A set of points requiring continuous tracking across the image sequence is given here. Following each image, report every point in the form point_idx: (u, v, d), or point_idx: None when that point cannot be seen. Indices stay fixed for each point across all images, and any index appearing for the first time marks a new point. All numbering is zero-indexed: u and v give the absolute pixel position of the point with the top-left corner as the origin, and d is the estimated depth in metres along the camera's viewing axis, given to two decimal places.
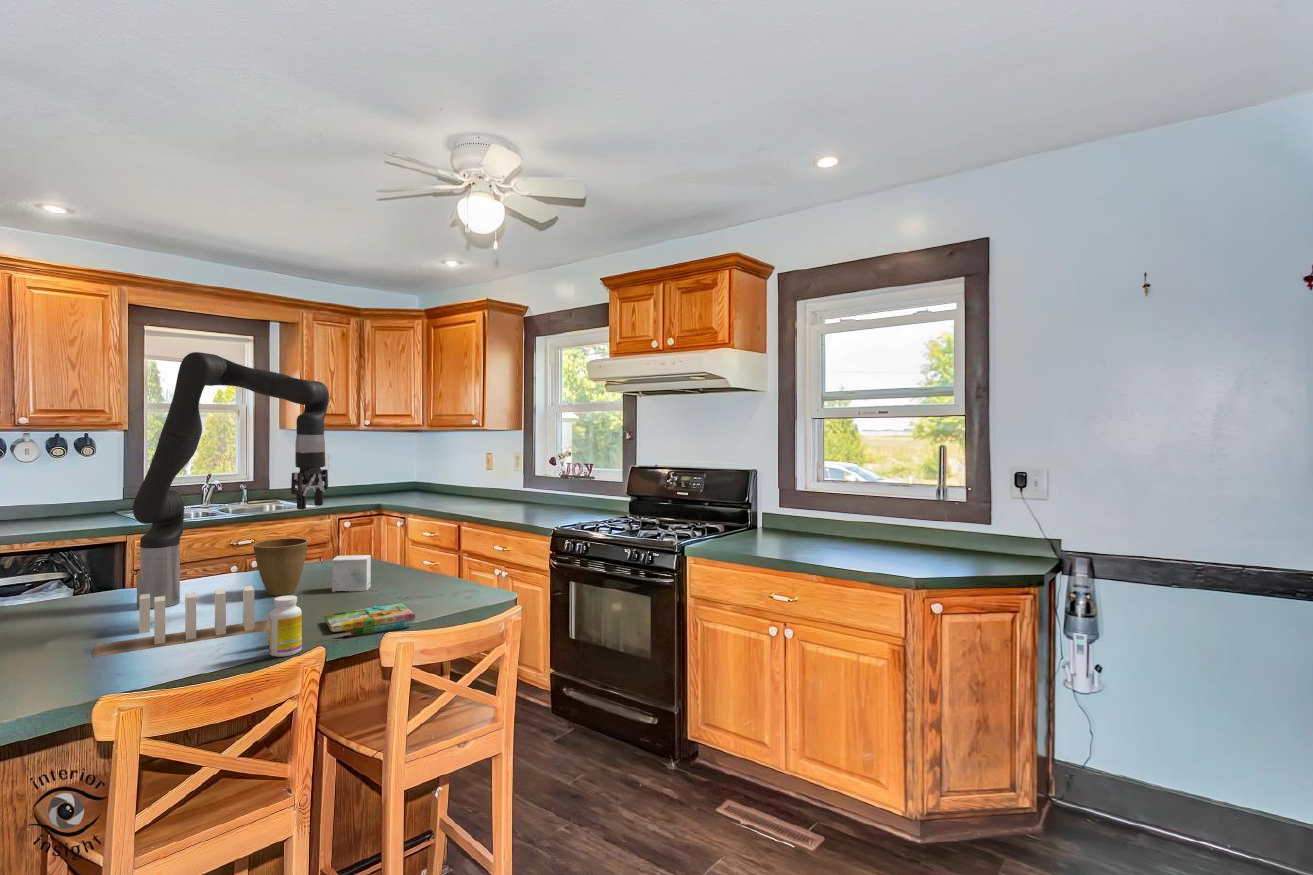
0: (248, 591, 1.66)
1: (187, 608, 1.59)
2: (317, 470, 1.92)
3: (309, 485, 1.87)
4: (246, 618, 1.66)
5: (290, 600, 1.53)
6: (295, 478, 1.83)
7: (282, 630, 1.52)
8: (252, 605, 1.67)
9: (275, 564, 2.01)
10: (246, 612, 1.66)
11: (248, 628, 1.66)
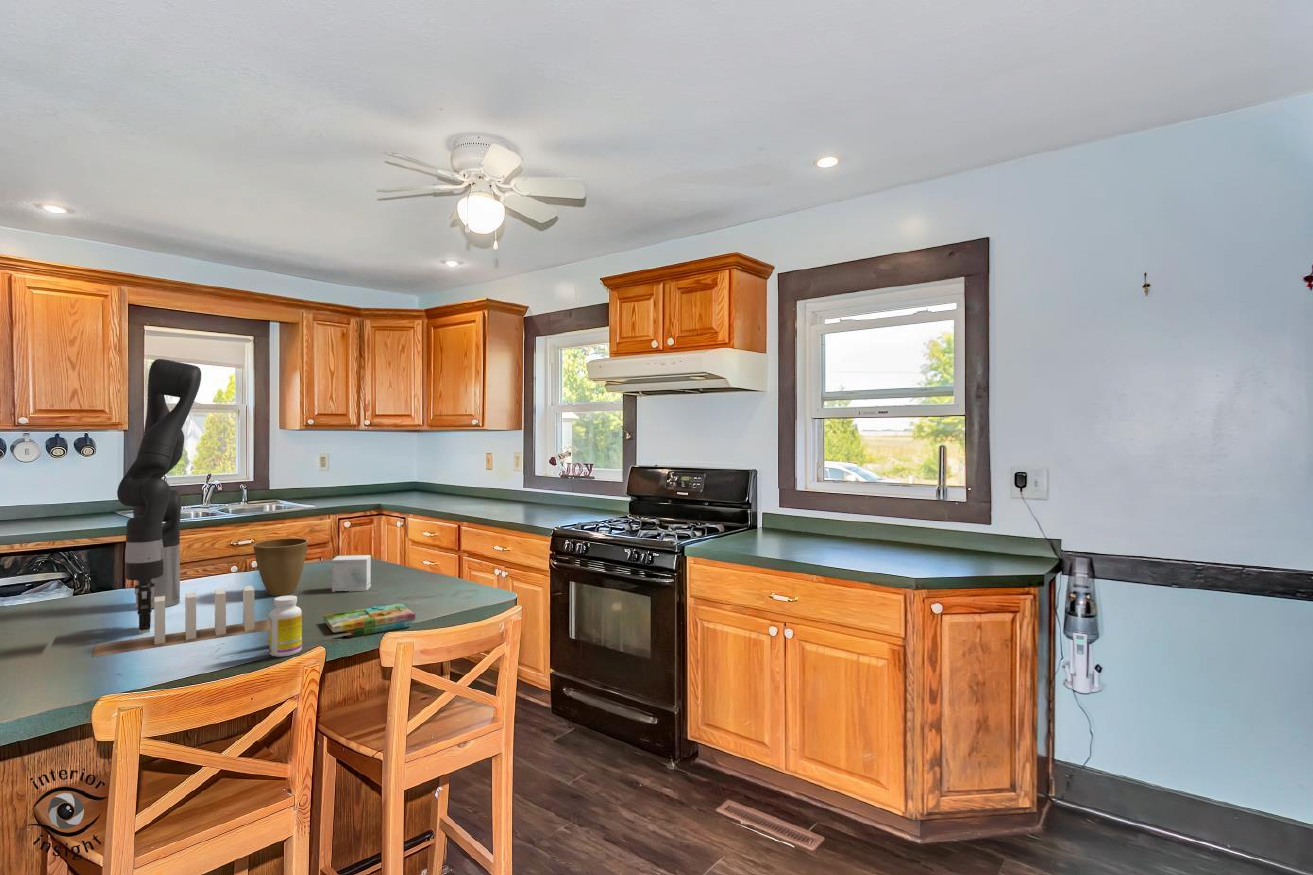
0: (248, 591, 1.66)
1: (187, 608, 1.59)
2: None
3: None
4: (246, 618, 1.66)
5: (290, 600, 1.53)
6: None
7: (282, 630, 1.52)
8: (252, 605, 1.67)
9: (275, 564, 2.01)
10: (246, 612, 1.66)
11: (248, 628, 1.66)
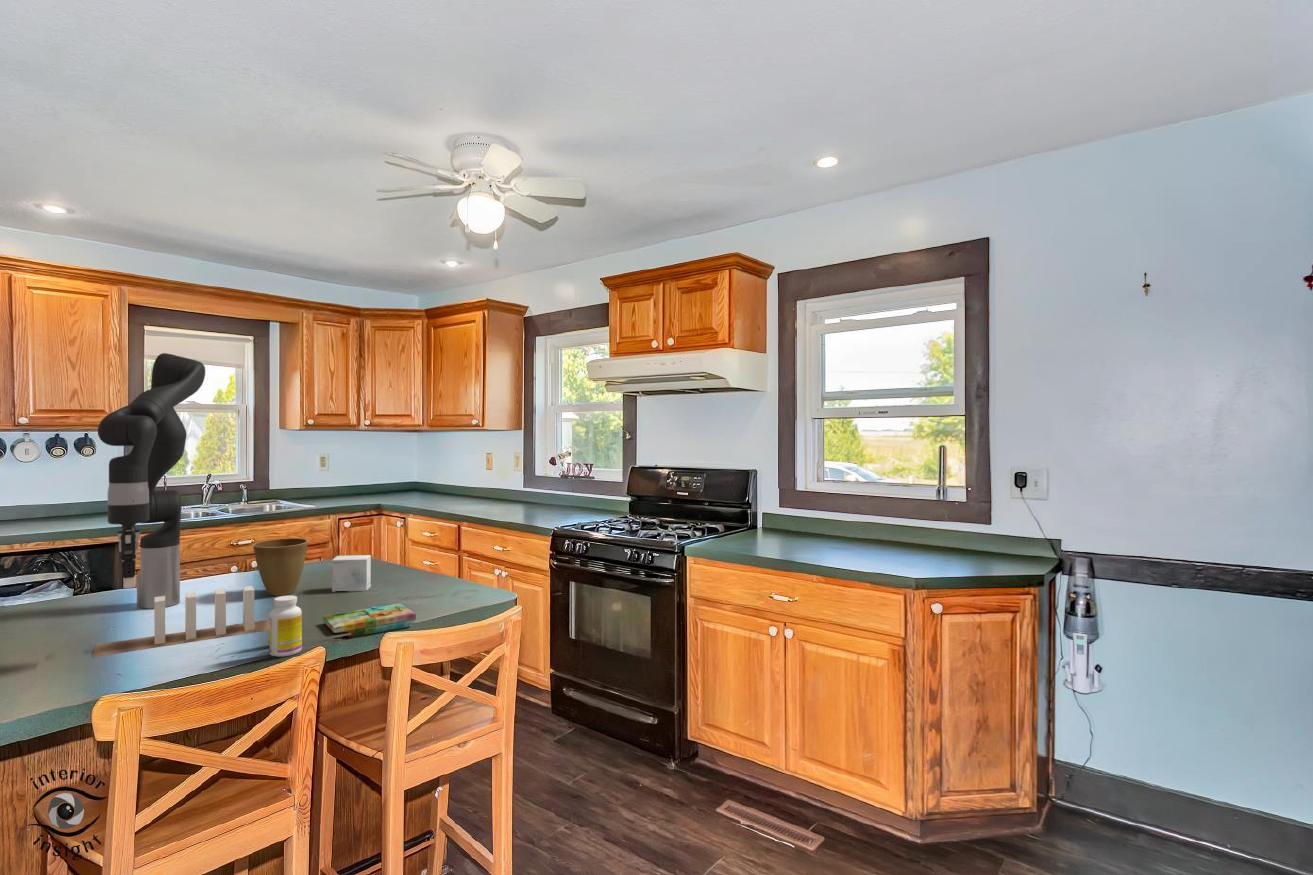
0: (248, 591, 1.66)
1: (187, 608, 1.59)
2: None
3: None
4: (246, 618, 1.66)
5: (290, 600, 1.53)
6: None
7: (282, 630, 1.52)
8: (252, 605, 1.67)
9: (275, 564, 2.01)
10: (246, 612, 1.66)
11: (248, 628, 1.66)
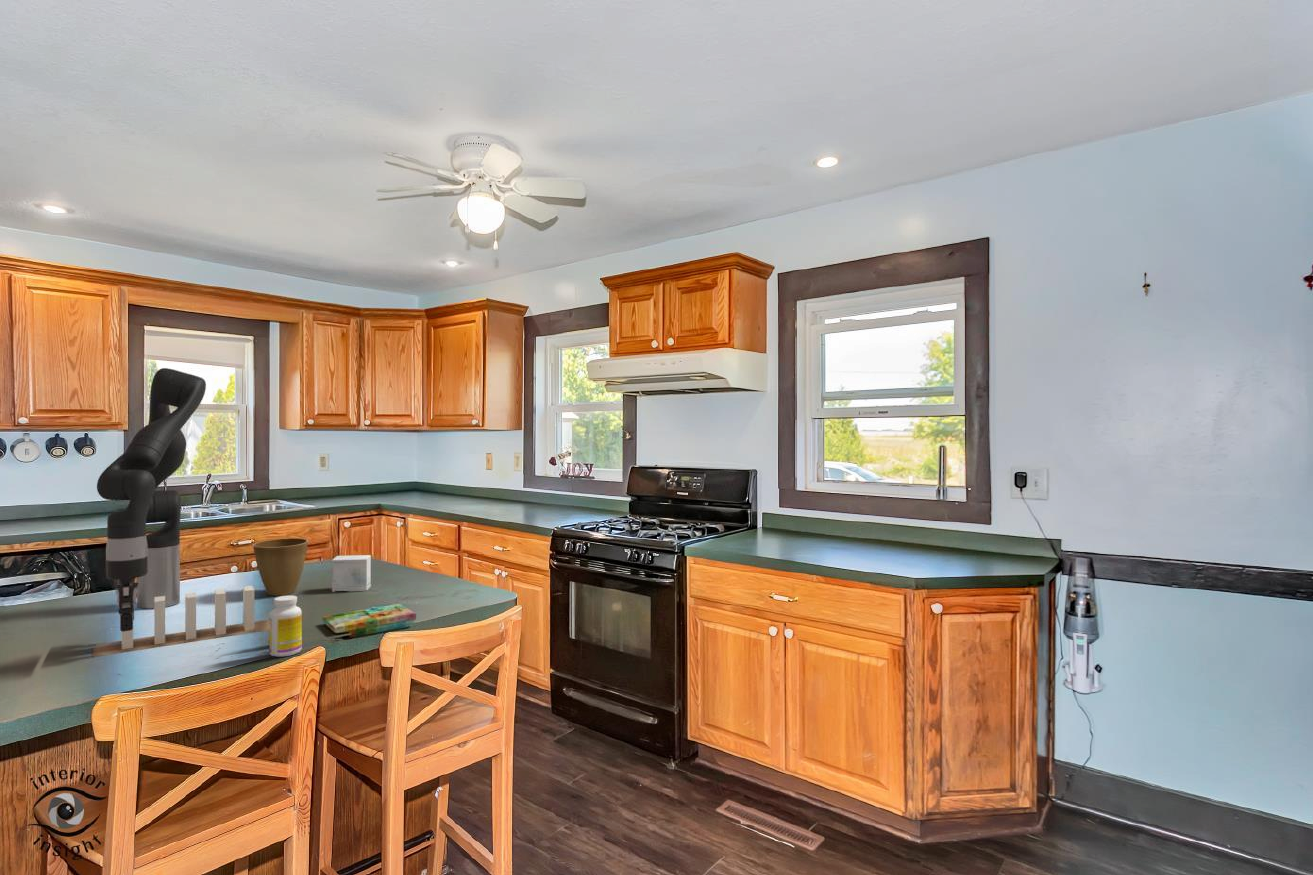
0: (248, 591, 1.66)
1: (187, 608, 1.59)
2: None
3: None
4: (246, 618, 1.66)
5: (290, 600, 1.53)
6: None
7: (282, 630, 1.52)
8: (252, 605, 1.67)
9: (275, 564, 2.01)
10: (246, 612, 1.66)
11: (248, 628, 1.66)
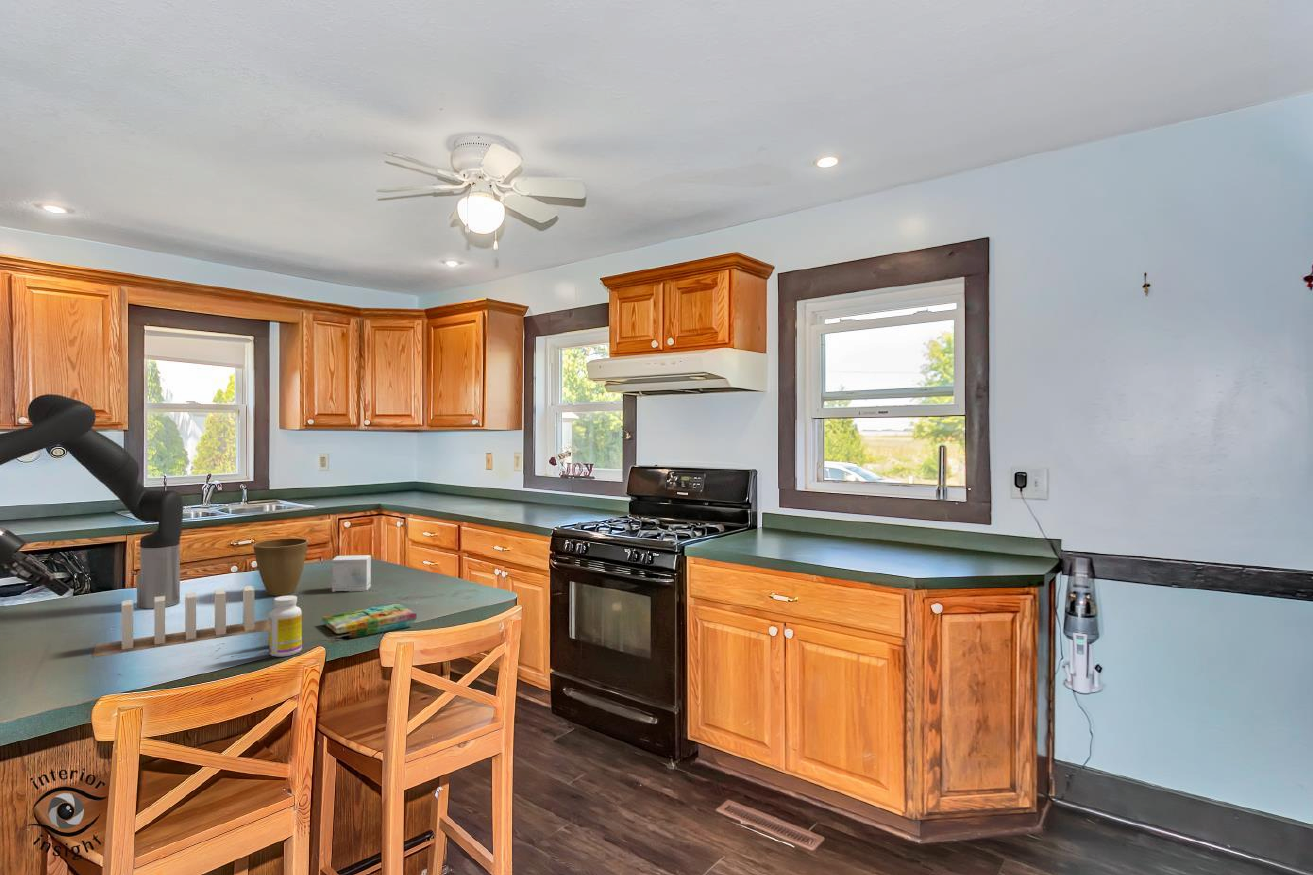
0: (248, 591, 1.66)
1: (187, 608, 1.59)
2: None
3: None
4: (246, 618, 1.66)
5: (290, 600, 1.53)
6: None
7: (282, 630, 1.52)
8: (252, 605, 1.67)
9: (275, 564, 2.01)
10: (246, 612, 1.66)
11: (248, 628, 1.66)
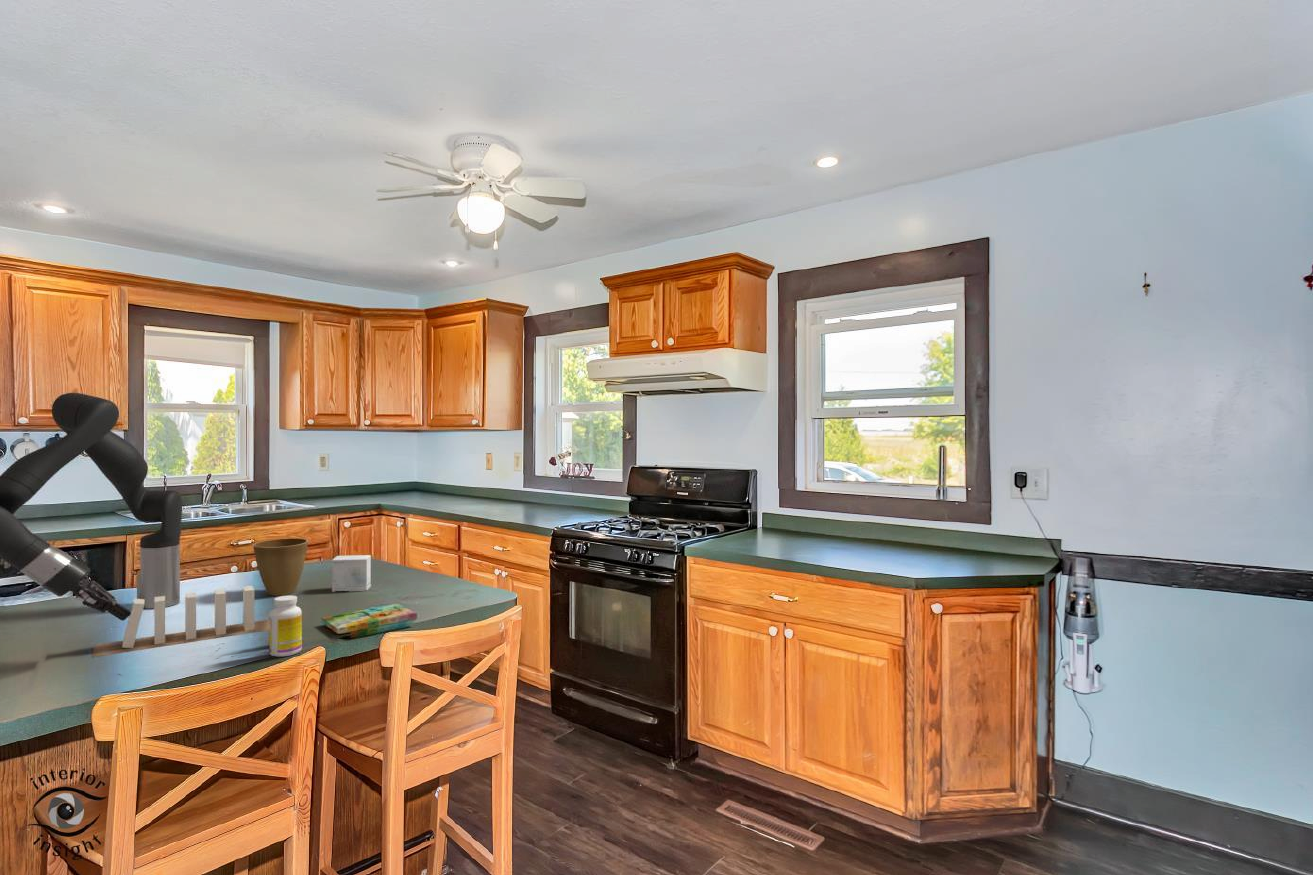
0: (248, 591, 1.66)
1: (187, 608, 1.59)
2: None
3: None
4: (246, 618, 1.66)
5: (290, 600, 1.53)
6: None
7: (282, 630, 1.52)
8: (252, 605, 1.67)
9: (275, 564, 2.01)
10: (246, 612, 1.66)
11: (248, 628, 1.66)
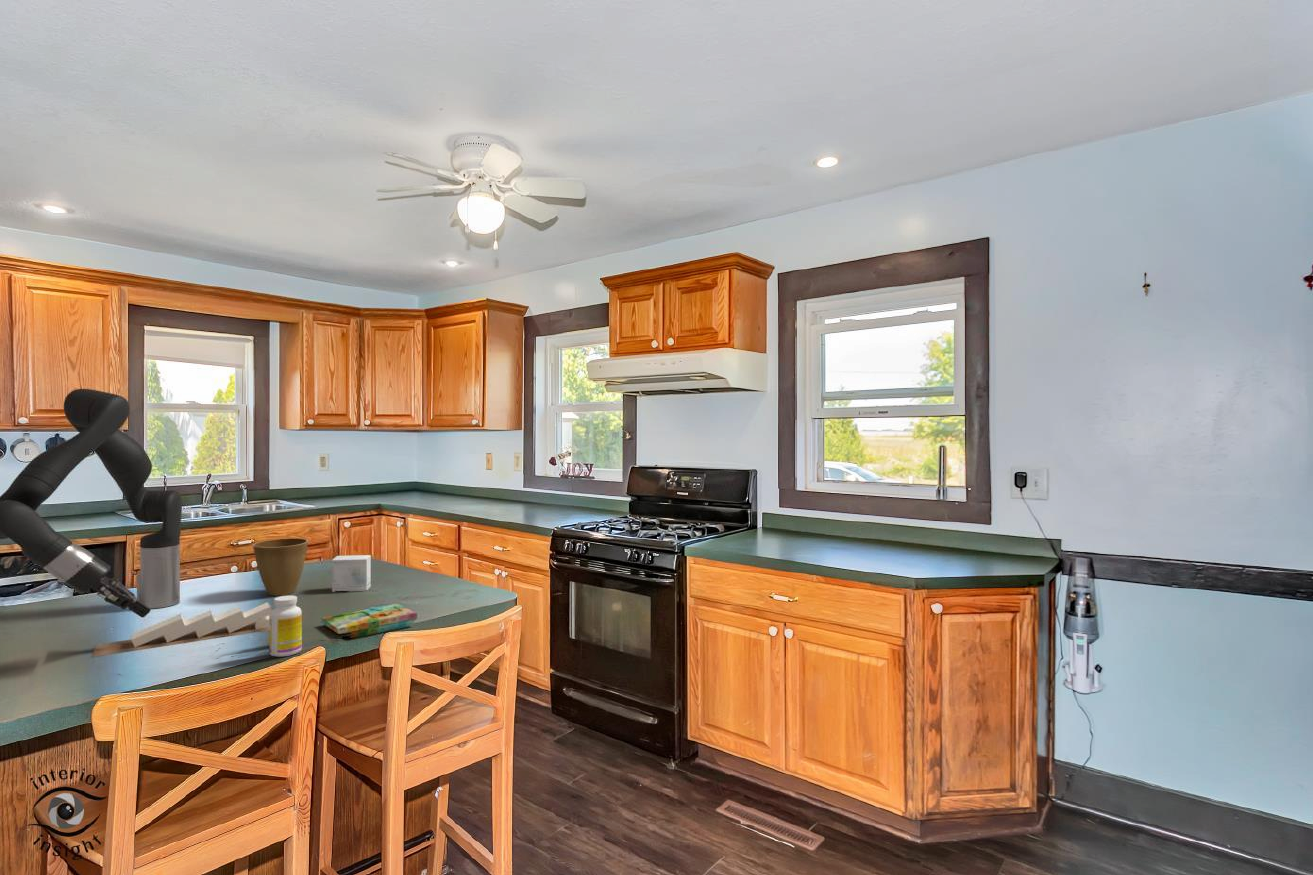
0: None
1: (230, 616, 1.64)
2: None
3: None
4: None
5: (290, 600, 1.53)
6: None
7: (282, 630, 1.52)
8: None
9: (275, 564, 2.01)
10: None
11: (257, 624, 1.67)
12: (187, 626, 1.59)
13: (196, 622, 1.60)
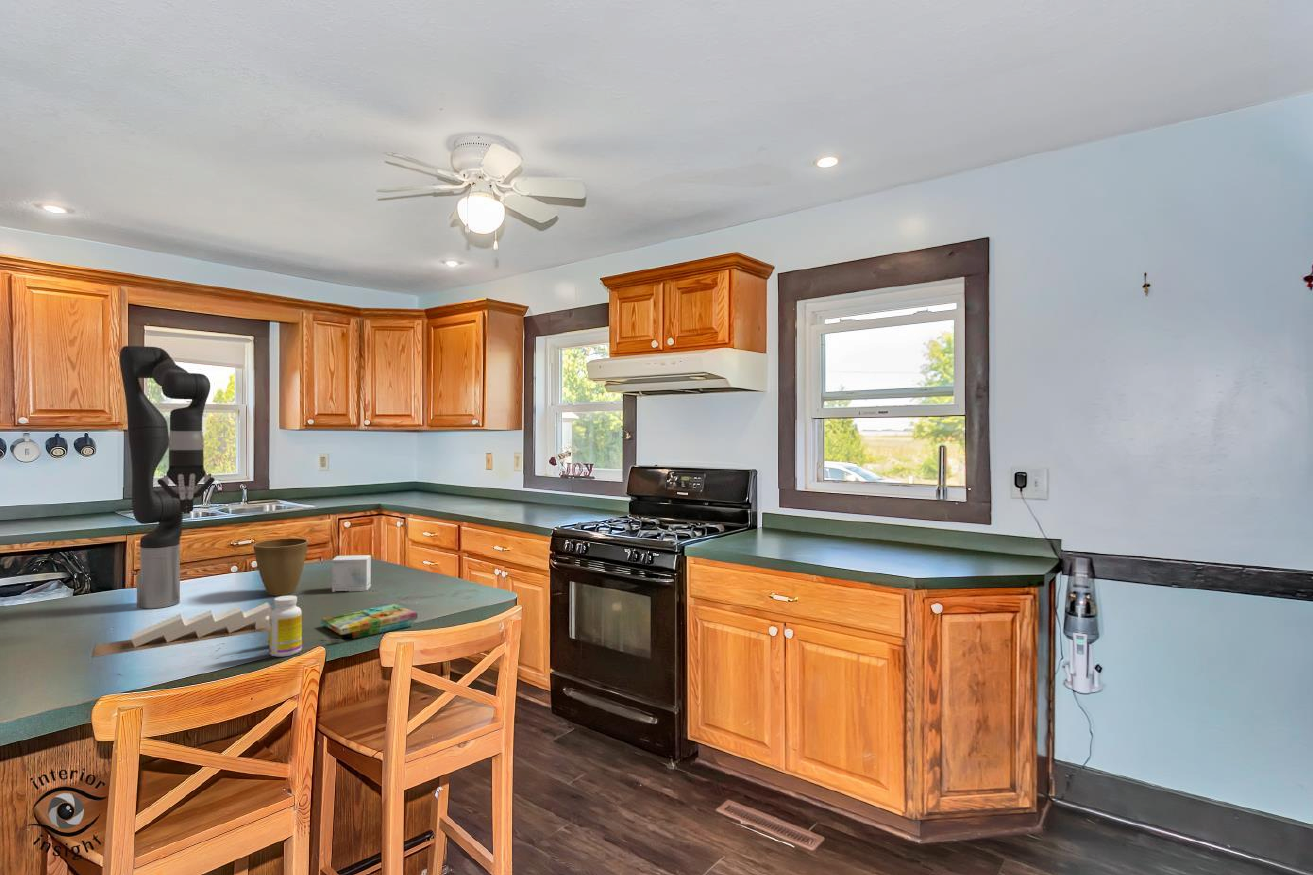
0: None
1: (230, 616, 1.64)
2: (194, 470, 1.77)
3: (181, 487, 1.75)
4: None
5: (290, 600, 1.53)
6: (161, 485, 1.73)
7: (282, 630, 1.52)
8: None
9: (275, 564, 2.01)
10: None
11: (257, 624, 1.67)
12: (187, 626, 1.59)
13: (196, 622, 1.60)
